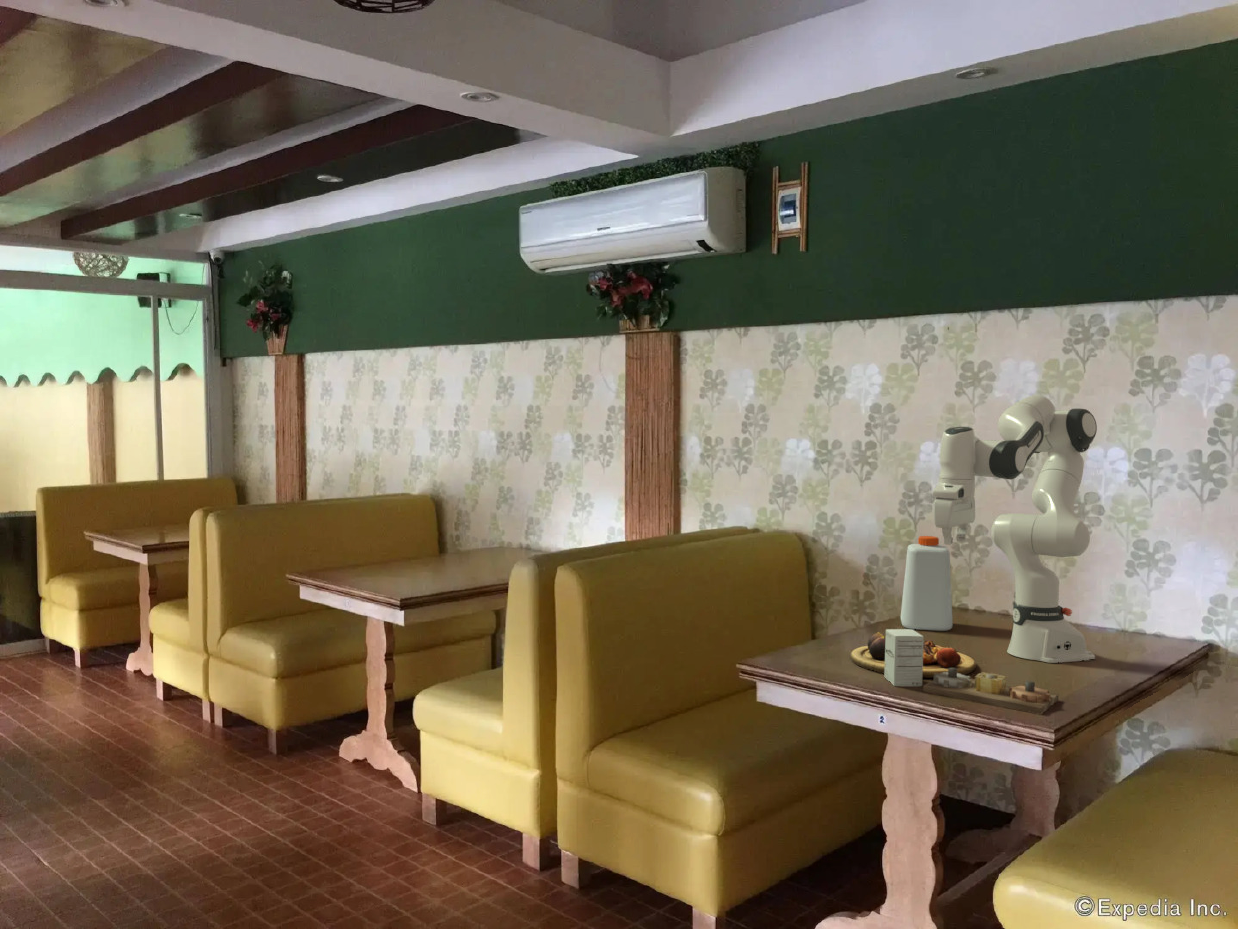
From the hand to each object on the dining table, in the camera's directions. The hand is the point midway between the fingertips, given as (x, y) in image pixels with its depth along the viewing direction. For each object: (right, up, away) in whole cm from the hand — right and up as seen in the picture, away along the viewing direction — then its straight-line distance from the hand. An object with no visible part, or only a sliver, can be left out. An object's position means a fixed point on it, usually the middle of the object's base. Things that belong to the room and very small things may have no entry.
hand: (954, 542), depth 258 cm
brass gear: (+1, -33, -23) cm, 40 cm away
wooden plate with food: (-9, -33, +7) cm, 35 cm away
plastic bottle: (+9, -30, +53) cm, 61 cm away
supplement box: (-17, -34, -12) cm, 40 cm away
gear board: (+1, -35, -23) cm, 42 cm away
